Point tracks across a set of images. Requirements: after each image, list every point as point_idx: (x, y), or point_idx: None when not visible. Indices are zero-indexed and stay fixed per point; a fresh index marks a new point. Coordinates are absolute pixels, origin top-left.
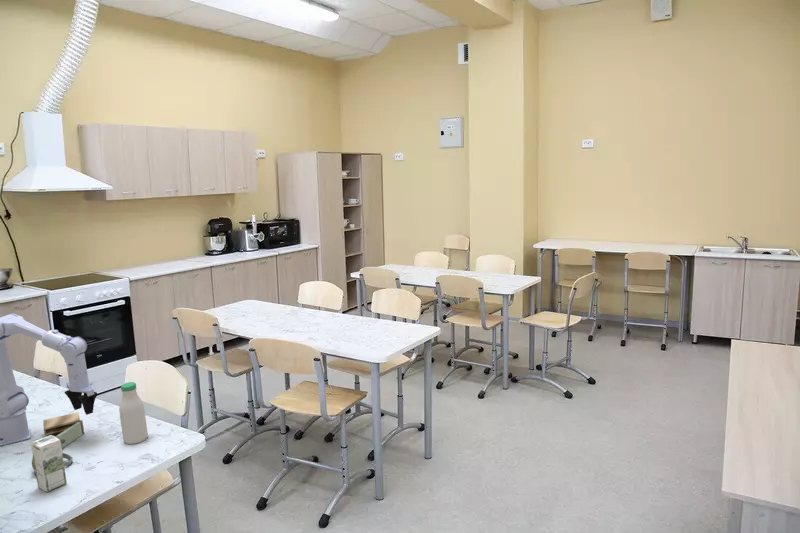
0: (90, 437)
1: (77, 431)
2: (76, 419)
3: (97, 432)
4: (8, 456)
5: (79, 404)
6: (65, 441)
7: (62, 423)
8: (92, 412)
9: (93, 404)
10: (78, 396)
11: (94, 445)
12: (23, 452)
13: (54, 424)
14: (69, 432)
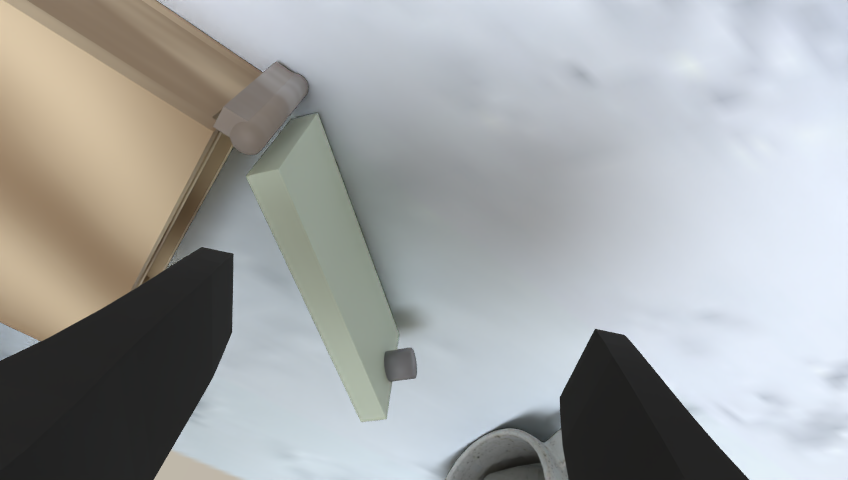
0: (444, 120)
1: (324, 190)
2: (158, 134)
3: (418, 9)
4: None
5: (200, 323)
6: (378, 314)
7: (127, 252)
8: (629, 345)
9: (726, 464)
10: (85, 468)
11: (614, 221)
12: None
13: (78, 288)
14: (350, 302)
